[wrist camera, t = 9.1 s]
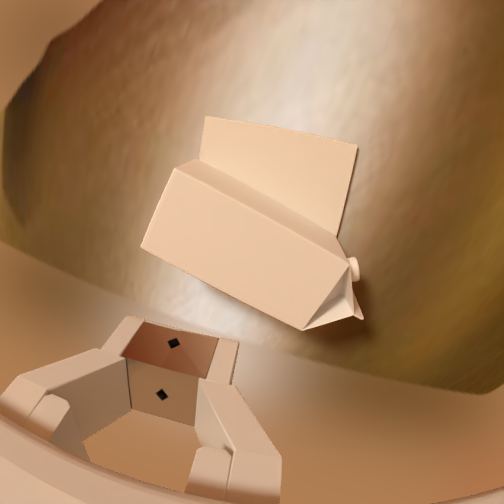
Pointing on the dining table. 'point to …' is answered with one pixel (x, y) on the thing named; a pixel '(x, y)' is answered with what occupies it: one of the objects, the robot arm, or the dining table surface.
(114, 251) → the dining table surface
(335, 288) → the milk carton
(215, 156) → the mat
